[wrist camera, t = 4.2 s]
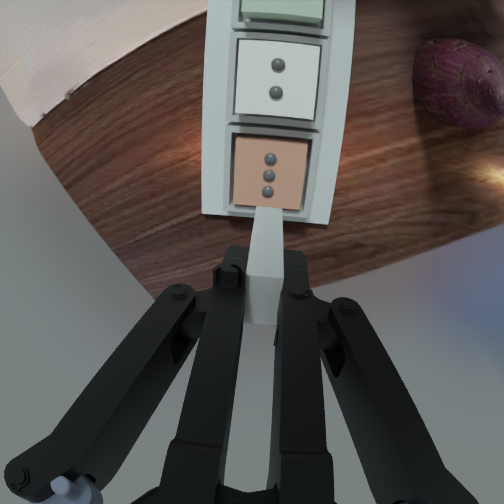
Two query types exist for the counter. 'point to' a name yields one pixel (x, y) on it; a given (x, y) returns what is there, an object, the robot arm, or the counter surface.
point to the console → (232, 124)
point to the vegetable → (459, 82)
